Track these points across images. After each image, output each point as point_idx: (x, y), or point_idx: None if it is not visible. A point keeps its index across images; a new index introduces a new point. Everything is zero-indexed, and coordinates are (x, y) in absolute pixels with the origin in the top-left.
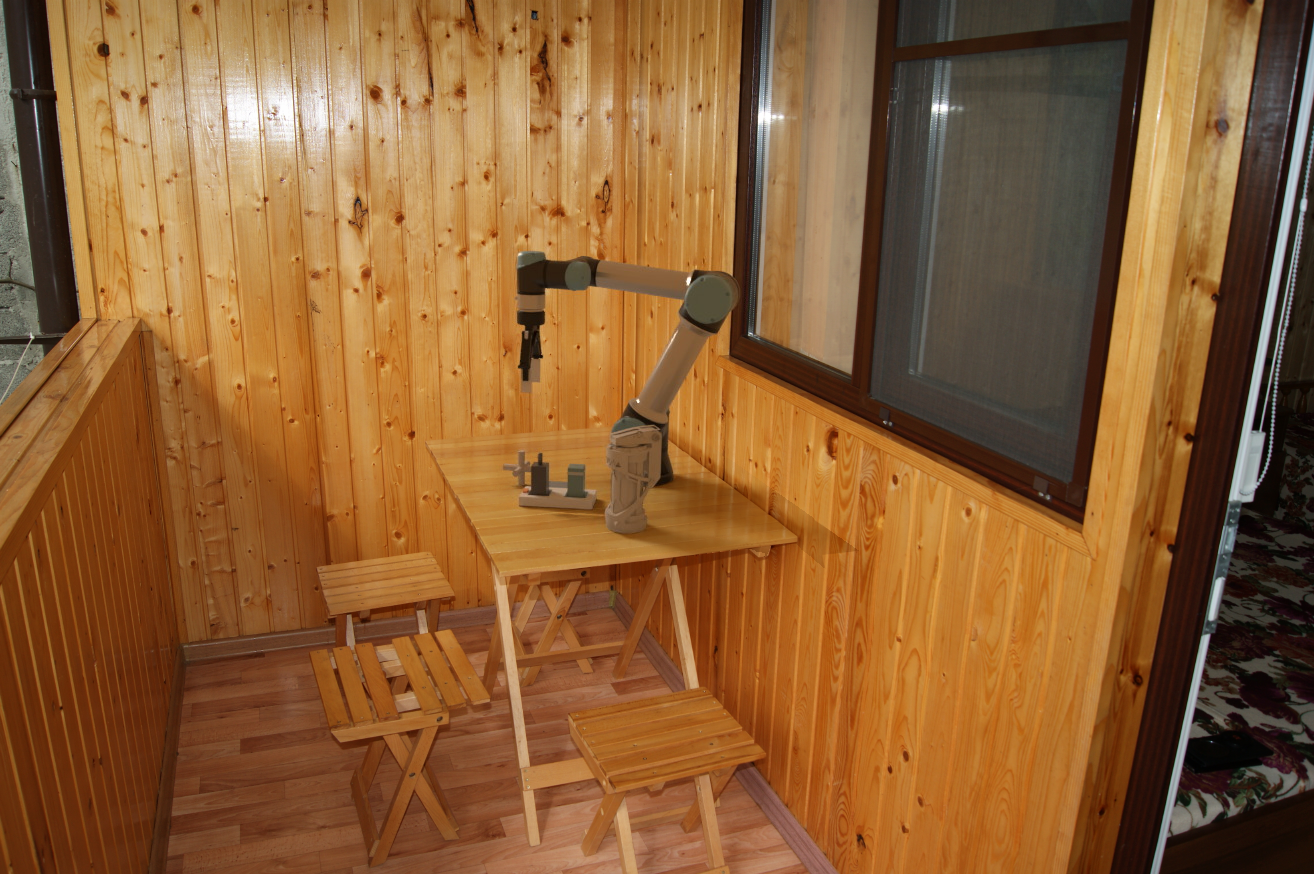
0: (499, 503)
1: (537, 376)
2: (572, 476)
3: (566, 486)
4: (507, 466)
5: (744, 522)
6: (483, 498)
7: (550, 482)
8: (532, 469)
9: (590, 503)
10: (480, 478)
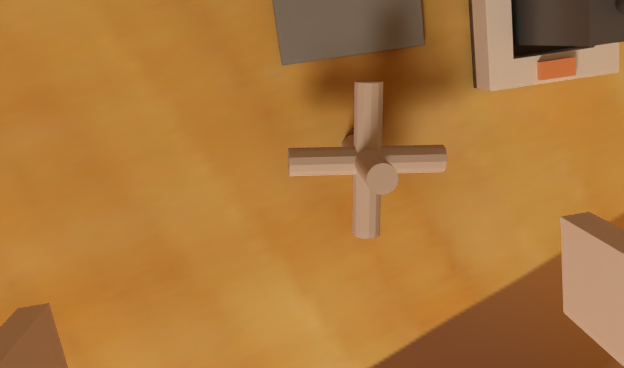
0: (560, 150)
1: (27, 365)
2: None
3: None
4: (379, 217)
5: None
6: (520, 219)
7: (299, 46)
8: None
9: None
10: (310, 312)
